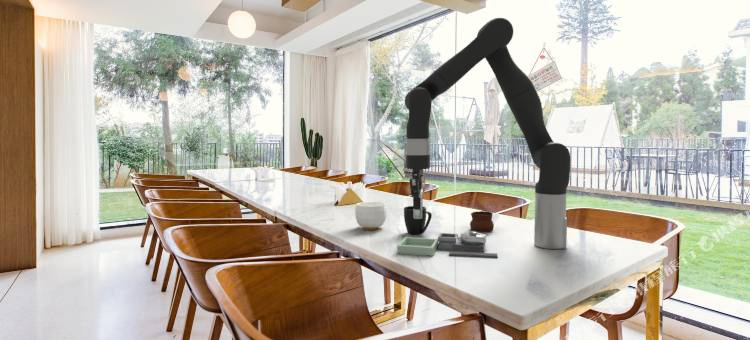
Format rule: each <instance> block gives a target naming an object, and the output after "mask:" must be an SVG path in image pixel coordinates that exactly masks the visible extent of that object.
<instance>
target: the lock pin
mask: <svg viewBox="0 0 750 340" xmlns="http://www.w3.org/2000/svg"><path fill="white" fill-rule="evenodd" d="M419 187H420V186H419ZM423 187H424V183H423ZM415 192H417V190H415ZM413 218H414V219H422V190H421V208H420V210H414V209H413Z"/></svg>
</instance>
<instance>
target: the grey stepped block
mask: <svg viewBox="0 0 750 340" xmlns="http://www.w3.org/2000/svg"><path fill="white" fill-rule="evenodd" d="M437 239H438V248H437V250H438V249H439V250H440V251H441V250H442V251H451V252H474V253H485V248H486V243H487V234H484V233H483V232H476V231H472V230H471V231H469V232H463V233H460V236H459V234H458V233H448V232H447V233H446V232H440V233H439V235H438V236H437Z"/></svg>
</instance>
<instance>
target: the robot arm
mask: <svg viewBox="0 0 750 340" xmlns="http://www.w3.org/2000/svg"><path fill="white" fill-rule="evenodd" d="M513 36H514V26H513V24H512V23H511V21H510V20H508V19H507V18H503V17H495V18H493V19H491V20H488V21H487V22H486V23H485V24H484V25H483V26H482V27H481V28H480V29H479V30H478V32H477V35H476V36H475V38H474V39H473V40H472V41H470V43H468V44H467V45H466V46H465V47H464V48H462V49H461V50H460V51H458V52H457V53H456V54H454V55H453V56H452V57H451V58H449V59H447V61H445V62H444V63H442V65H440V66H439V67H438V68H436V69H435V70H434V71H433V72H431V74H430V75H429V76H427V78H425V79H424V80H423V81H421V82H420V83H419V84H417V85H416V86H415V87H413V88H412V89H411V90H410V91H409V92H407V93H406V95H405V98H404V105H405V107H406V109H408V121H407V122H406V140H405V141H406V143H405V168H406V169H407V170H412V172H411V175H410V178H409V181H408V182H409V186H410V187H409V189H410V196H411V197H412V206H413V209H414V210H420V208H421V190H422V207H424V206H423V205H424V204H423V202H424V201H423V199H424V198H423V196H424V193H425V188H426V187H425V186H426V178H427V176H426V174H424V170H428V169H430V168H431V143H430V142H431V141H430V117H431V113H432V101H434V100H435V99H436V98H437V97H439V96H440V95H442V94H444V93H445V92H447V91H448V90H449V89H450V88H452V87H453V86H454V85H455V84H456V83H458V82H459V81H460V80H461V79H462V78H463V77H464V76H465V75H467V74H468V72H469V71H471V70H472V69H473V68H474V67H475V66H477V65H478V64H479V63H480V62H482V60H484V59H485V60H486V61H487V64H488V65H489V67H490V69H491V70H492V72H493V74H494V76H495V79H496V82H497V83H498V85H499V87H500V89H501V91H502V94H503V96H504V98H505V101H506V103H507V105H508V107H509V110H510V112H511V113H512V115H513V117H514V119H515V122H516V123H517V125H518V127H519V128H520V130H521V132H522V134H523V137H524V139H525V142H526V143H527V148H528V149H529V150H528V151H529V154H530V156H531V159H532V162H533V163H534V165H535V166H536V167H537V168H538V169H539V176H538V177H539V178H538V181H537V182H536V183H535V186H534V231H533V232H534V237H533V240H534V242H533V243H534V246H536V247H538V248H542V249H547V250H549V249H550V250H560V249H567V243H568V241H567V240H568V239H567V237H568V235H567V234H568V233H567V232H568V218H567V190H568V189H567V188H568V186H569V184H570V180H571V179H570V176H571V152H570V151H569V149H568V147H567V146H566V145H564V144H563V143H559V142H555V141H554V140H553V139H552V137H551V135H550V133H549V132H548V130H547V128H546V125H545V121H544V113H543V107H542V101H541V99H540V96H539V94H538V91H537V90H536V89H537V88H535V85H534V83H533V81H532V80H531V79H530V78H529V76H528V75H527V74H526V73H525V72H524V71H523V70H522V69H521V68H520V67H519V66H518V65H517V64H516V63H515V61H514V59H513V58H512V55H511V53H510V52H509V49H508V45H509V44H510V42H511V41H512V39H513ZM423 183H424V187H423ZM419 186H420V187H419ZM415 190H417V192H415Z"/></svg>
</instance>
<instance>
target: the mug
mask: <svg viewBox="0 0 750 340" xmlns="http://www.w3.org/2000/svg"><path fill="white" fill-rule="evenodd" d="M432 216H433V214H432V212H430V211H427V207H425V206H423V207H422V219H414V218H413V205H408V206H405V207H403V218H404V219H403V220H404V223H405V224H404V225H405V227H406V231H407V234H408V235H411V236H413V235H414V236H415V235H416V236H417V235H423V234H424V233H425V232H426V231H427V229H428V227H429V225H430V223H431V220H432Z"/></svg>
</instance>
